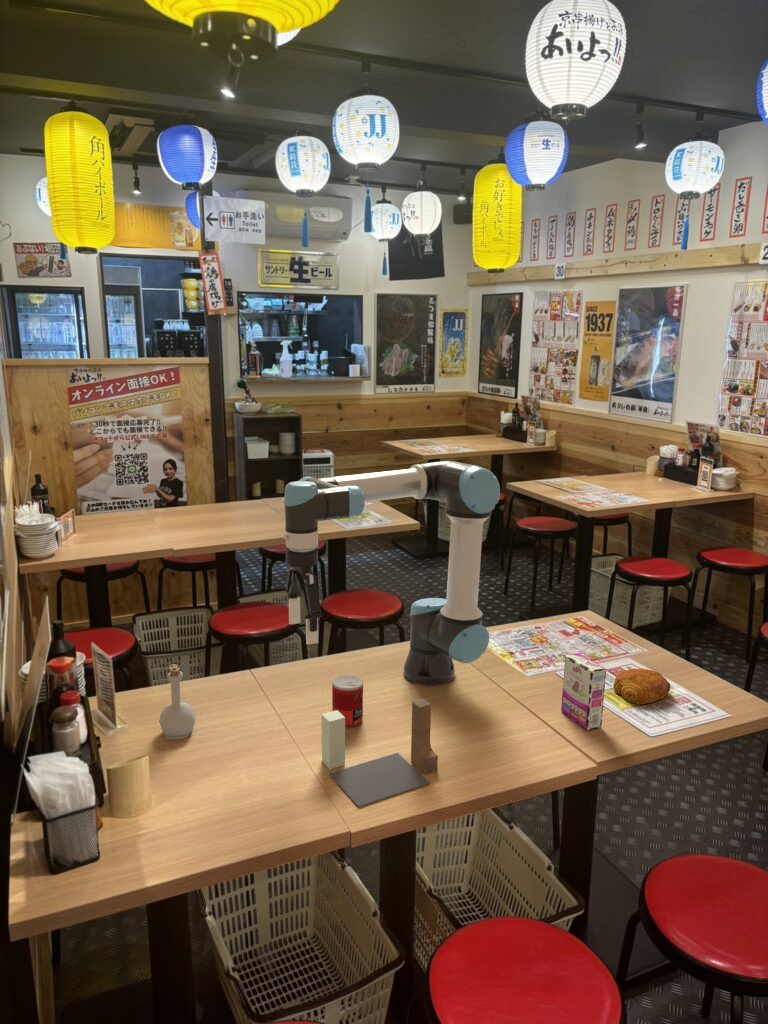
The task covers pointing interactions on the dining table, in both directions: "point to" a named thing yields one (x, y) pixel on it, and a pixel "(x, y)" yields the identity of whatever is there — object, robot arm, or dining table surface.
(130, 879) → the dining table surface
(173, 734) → the potion bottle
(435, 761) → the wooden block
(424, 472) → the robot arm
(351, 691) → the canned food
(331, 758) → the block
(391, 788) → the mat
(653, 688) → the croissant
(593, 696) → the candy bar box
